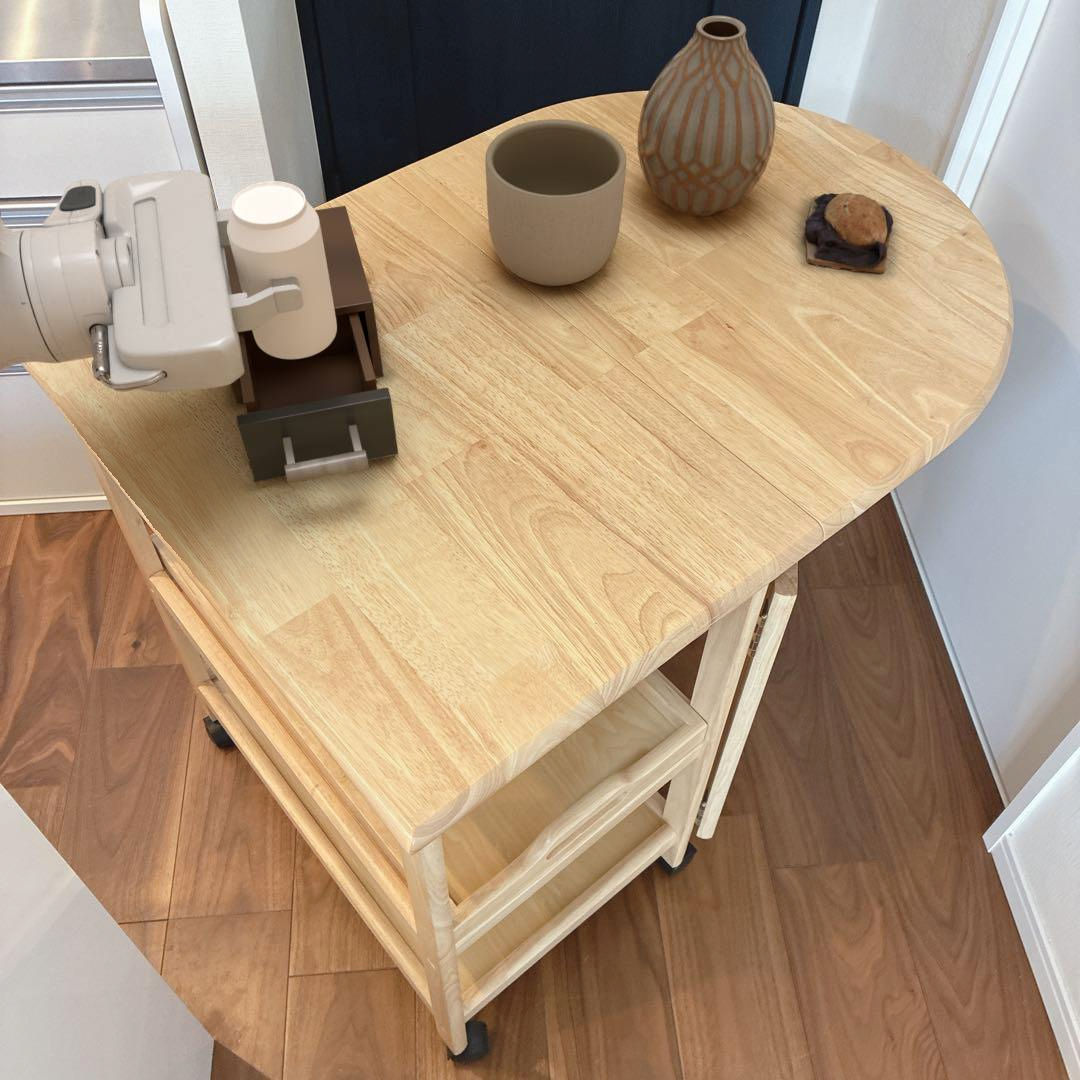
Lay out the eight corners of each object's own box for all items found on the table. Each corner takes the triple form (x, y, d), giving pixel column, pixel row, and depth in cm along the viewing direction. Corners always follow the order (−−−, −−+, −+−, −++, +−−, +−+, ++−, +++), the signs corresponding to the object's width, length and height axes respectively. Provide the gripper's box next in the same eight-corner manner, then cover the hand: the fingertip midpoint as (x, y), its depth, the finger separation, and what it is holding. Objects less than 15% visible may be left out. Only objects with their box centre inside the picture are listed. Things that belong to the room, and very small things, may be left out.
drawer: (409, 493, 82) (401, 436, 77) (260, 523, 80) (243, 467, 75) (370, 352, 92) (362, 294, 87) (238, 375, 90) (221, 317, 85)
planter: (642, 276, 100) (653, 174, 91) (526, 316, 96) (526, 213, 88) (577, 207, 107) (582, 105, 98) (466, 242, 103) (461, 139, 94)
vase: (625, 162, 112) (640, -7, 98) (748, 159, 112) (779, -9, 99) (639, 238, 104) (657, 65, 90) (771, 234, 104) (809, 62, 91)
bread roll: (807, 201, 108) (814, 168, 105) (891, 212, 107) (901, 180, 104) (799, 263, 102) (807, 230, 99) (888, 276, 100) (899, 243, 98)
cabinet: (383, 376, 91) (373, 301, 85) (235, 403, 89) (213, 328, 83) (356, 279, 99) (345, 205, 93) (220, 302, 97) (199, 227, 91)
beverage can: (304, 301, 83) (277, 164, 73) (355, 339, 80) (334, 201, 71) (239, 339, 80) (202, 201, 70) (290, 379, 77) (258, 241, 68)
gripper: (76, 356, 63) (307, 317, 66) (71, 167, 75) (267, 140, 78) (108, 429, 68) (322, 391, 71) (99, 241, 80) (282, 214, 83)
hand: (293, 258), depth 74 cm, fingers closed on beverage can, 6 cm apart
